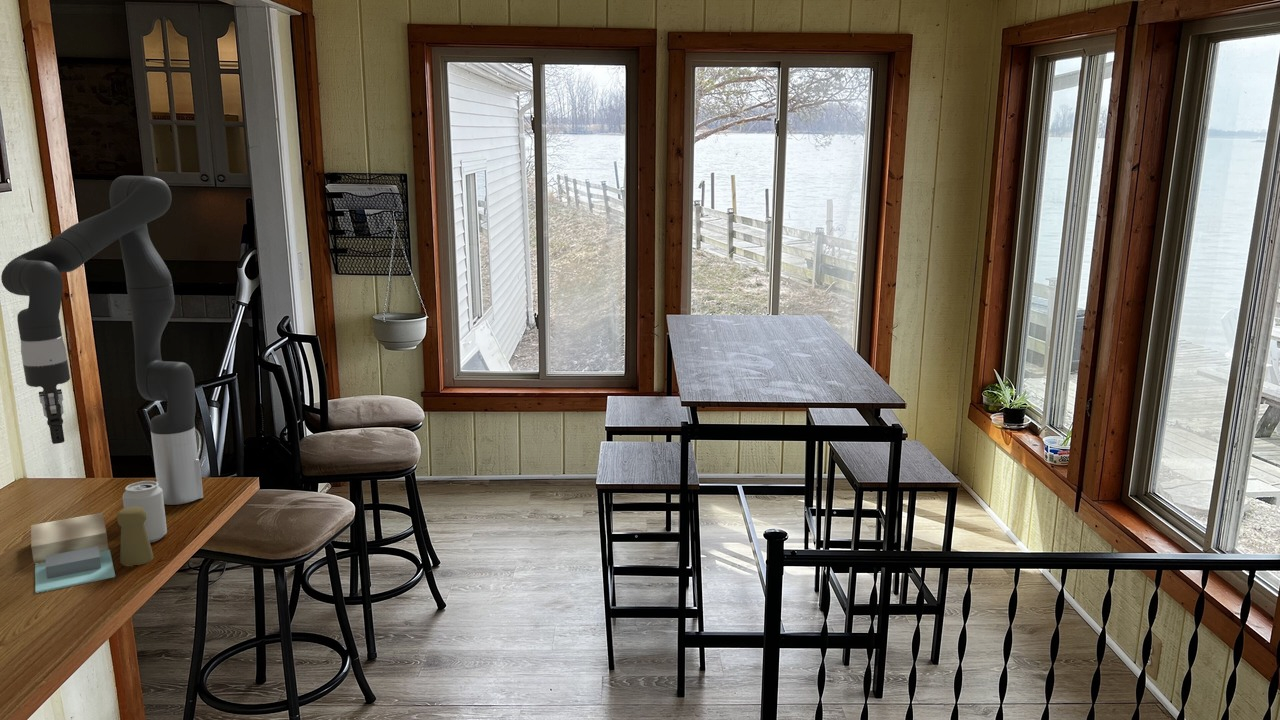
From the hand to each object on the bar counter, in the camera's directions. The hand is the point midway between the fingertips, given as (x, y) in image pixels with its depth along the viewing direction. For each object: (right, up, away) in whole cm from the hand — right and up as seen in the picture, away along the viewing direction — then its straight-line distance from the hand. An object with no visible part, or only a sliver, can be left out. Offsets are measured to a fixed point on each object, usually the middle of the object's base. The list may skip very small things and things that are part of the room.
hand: (58, 442), depth 189 cm
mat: (+8, -25, -7) cm, 27 cm away
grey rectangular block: (+7, -23, -7) cm, 25 cm away
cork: (+17, -24, -2) cm, 29 cm away
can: (+14, -21, +9) cm, 27 cm away
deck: (0, -22, +4) cm, 23 cm away
